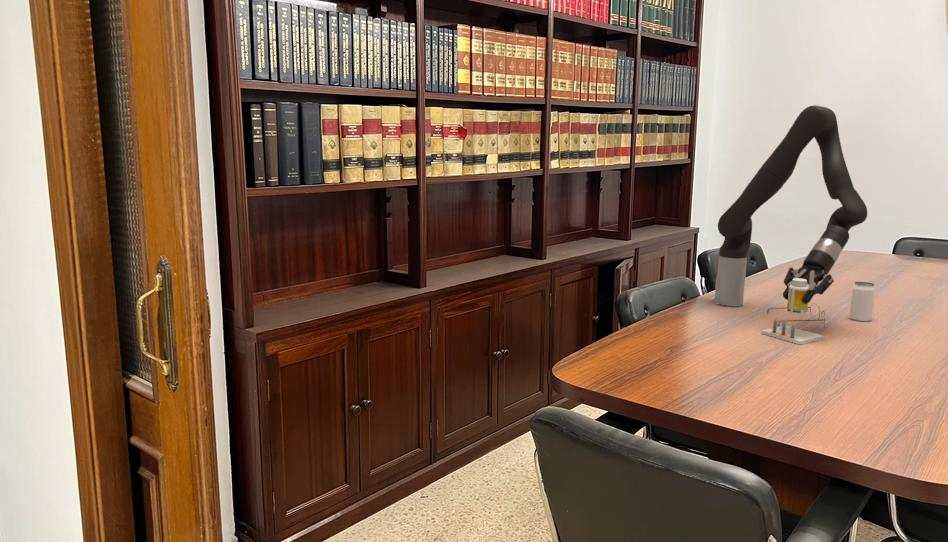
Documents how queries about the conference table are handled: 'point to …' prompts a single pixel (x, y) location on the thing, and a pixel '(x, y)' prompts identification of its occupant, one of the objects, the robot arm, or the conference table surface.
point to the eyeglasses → (802, 320)
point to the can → (862, 301)
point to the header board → (791, 334)
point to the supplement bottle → (797, 297)
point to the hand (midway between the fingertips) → (794, 299)
